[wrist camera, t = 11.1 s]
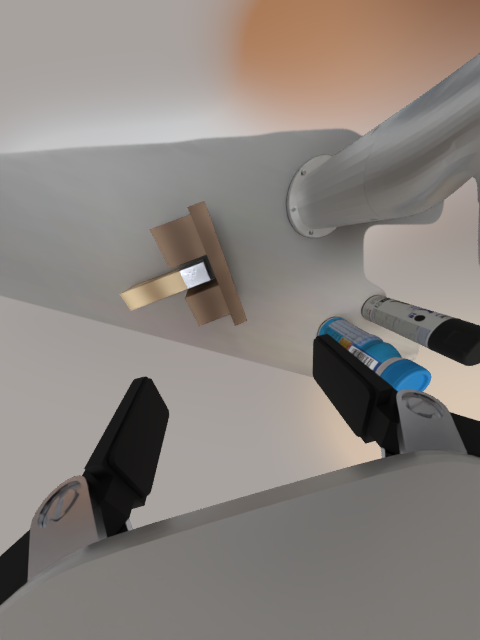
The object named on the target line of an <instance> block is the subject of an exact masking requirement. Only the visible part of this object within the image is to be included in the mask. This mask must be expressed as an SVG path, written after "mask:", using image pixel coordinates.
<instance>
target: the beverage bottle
mask: <svg viewBox="0 0 480 640" xmlns="http://www.w3.org/2000/svg"><path fill="white" fill-rule="evenodd" d="M323 334H329V335H330V336H331V337H332V338H334V339H335V340H336V341H337V342H338V343H340V344H341V345H342V346H343V347H345V348H346V349H347V350H348V351H350V352H351V353H352V354H353V355H354V356H356V357H357V358H358V359H359V360H361V361H362V362H363V363H364V364H365V365H367V366H368V367H369V368H370V369H372V370H373V371H374V372H375V373H377V374H378V375H379V376H380V377H381V378H383V379H384V380H385V381H386V382H388V383H389V384H390V385H391V386H392V387H394V389H396V390H397V391H398V392H399V391H401V390H404V389H412V390H418V391H421V392H423V391H424V390H425V389H426V387H427V386H428V385H429V383H430V380H431V374H430V372H429V371H428V370H426V369H425V368H423V367H422V366H420V365H418V364H416V363H415V362H413V361H411V360H408V359H405V358H402V357H401V355H400V354H399V352H398V351H397V350H396V349H395V348H394V347H393V346H392V345H391V344H389V343H385V342H383V340H382V339H380V338H379V337H377V336H375V335H372V334H369V333H367V332H365V331H363V330H362V329H360V328H358V327H356V326H354V325H352V324H350V323H349V322H347V321H346V320H344V319H342V318H339V317H334V318H331V319H328V320H327V321H325V322H324V323H323V324H322V325H321V327H320V329H319V332H318V336H319V335H323Z"/></svg>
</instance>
